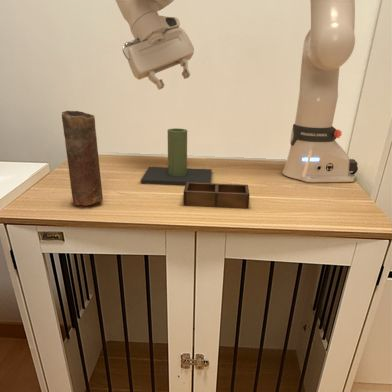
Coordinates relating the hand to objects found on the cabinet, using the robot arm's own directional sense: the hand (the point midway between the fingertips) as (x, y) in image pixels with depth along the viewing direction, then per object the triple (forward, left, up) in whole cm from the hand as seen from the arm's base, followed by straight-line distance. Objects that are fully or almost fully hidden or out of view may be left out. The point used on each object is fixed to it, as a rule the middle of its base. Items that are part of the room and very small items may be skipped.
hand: (174, 82), depth 119 cm
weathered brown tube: (+18, +38, -24) cm, 49 cm away
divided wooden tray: (-14, +32, -24) cm, 43 cm away
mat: (-2, +10, -24) cm, 26 cm away
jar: (-2, +10, -23) cm, 25 cm away
